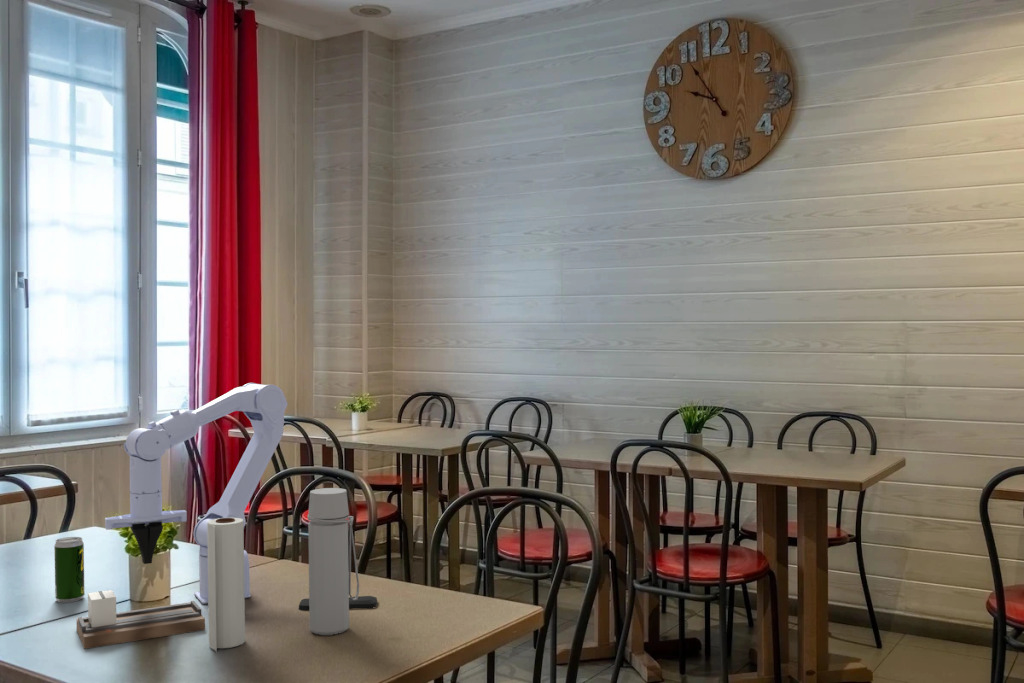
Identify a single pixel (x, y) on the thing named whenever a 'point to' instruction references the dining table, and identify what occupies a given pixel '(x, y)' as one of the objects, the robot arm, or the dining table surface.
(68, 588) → the beer can
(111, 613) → the fader knob
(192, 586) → the dining table surface
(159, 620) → the console
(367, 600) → the remote control
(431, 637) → the dining table surface
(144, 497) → the robot arm
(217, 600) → the paper towel roll
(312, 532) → the water bottle
